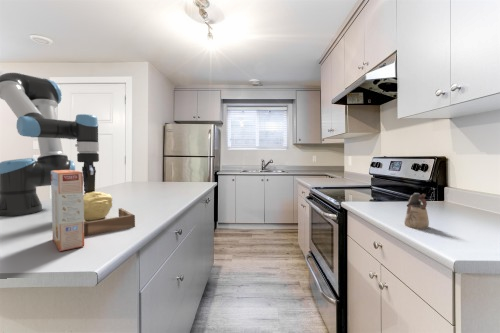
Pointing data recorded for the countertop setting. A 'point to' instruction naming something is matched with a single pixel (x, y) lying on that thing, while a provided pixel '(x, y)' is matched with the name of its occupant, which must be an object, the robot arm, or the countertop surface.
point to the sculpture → (96, 205)
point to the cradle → (110, 223)
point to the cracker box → (67, 209)
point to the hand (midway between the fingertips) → (90, 208)
